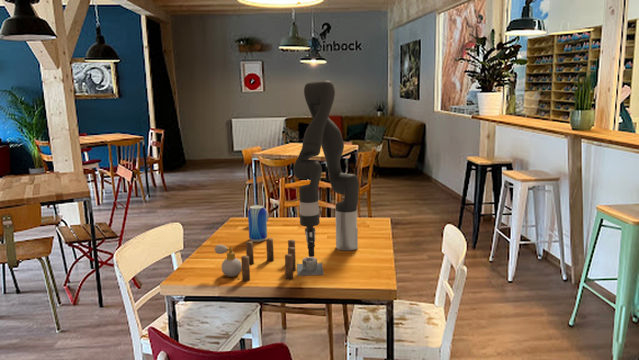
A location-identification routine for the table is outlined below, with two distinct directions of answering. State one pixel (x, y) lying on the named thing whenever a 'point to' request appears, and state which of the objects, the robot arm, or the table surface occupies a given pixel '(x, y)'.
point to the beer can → (257, 223)
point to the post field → (269, 259)
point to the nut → (309, 264)
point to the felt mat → (317, 272)
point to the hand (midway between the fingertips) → (310, 252)
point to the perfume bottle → (229, 261)
